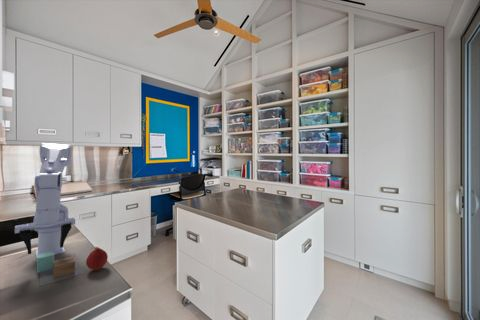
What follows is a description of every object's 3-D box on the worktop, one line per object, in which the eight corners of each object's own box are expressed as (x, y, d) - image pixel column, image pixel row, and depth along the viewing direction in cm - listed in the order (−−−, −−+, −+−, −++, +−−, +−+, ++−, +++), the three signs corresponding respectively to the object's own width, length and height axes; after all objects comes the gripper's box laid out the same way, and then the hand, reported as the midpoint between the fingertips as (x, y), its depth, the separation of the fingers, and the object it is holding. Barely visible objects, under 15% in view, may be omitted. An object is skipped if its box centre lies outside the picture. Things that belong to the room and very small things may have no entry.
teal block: (36, 269, 68) (37, 254, 68) (53, 265, 71) (53, 250, 71) (37, 274, 65) (37, 258, 65) (53, 269, 68) (54, 254, 68)
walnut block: (52, 271, 66) (53, 260, 66) (72, 266, 70) (72, 256, 70) (53, 278, 62) (54, 266, 63) (74, 272, 66) (75, 261, 66)
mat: (39, 273, 66) (39, 272, 66) (78, 263, 73) (78, 261, 73) (40, 287, 59) (40, 286, 59) (83, 274, 66) (83, 273, 66)
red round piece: (103, 264, 72) (104, 241, 72) (109, 270, 69) (110, 246, 69) (83, 270, 68) (84, 246, 68) (88, 277, 64) (89, 252, 64)
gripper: (15, 214, 60) (12, 261, 60) (77, 207, 71) (75, 247, 70) (16, 210, 65) (14, 253, 65) (74, 204, 76) (72, 241, 75)
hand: (46, 249), depth 68 cm, fingers open, 7 cm apart
